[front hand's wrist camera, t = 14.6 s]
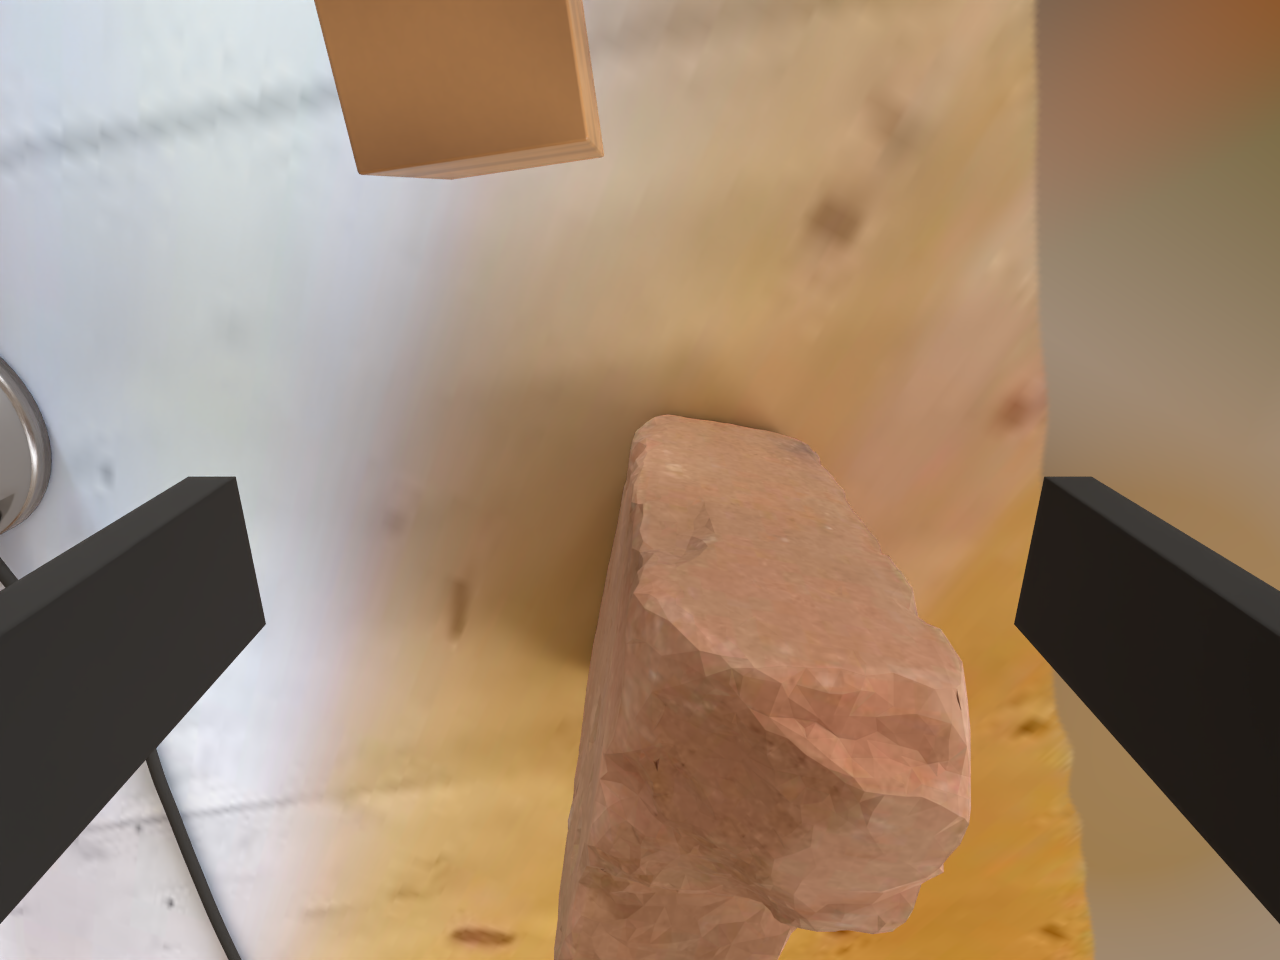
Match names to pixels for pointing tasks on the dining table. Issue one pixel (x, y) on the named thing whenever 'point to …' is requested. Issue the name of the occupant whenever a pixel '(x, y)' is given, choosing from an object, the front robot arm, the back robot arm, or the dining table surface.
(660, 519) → the stone
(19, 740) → the front robot arm
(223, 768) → the dining table surface
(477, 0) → the box
